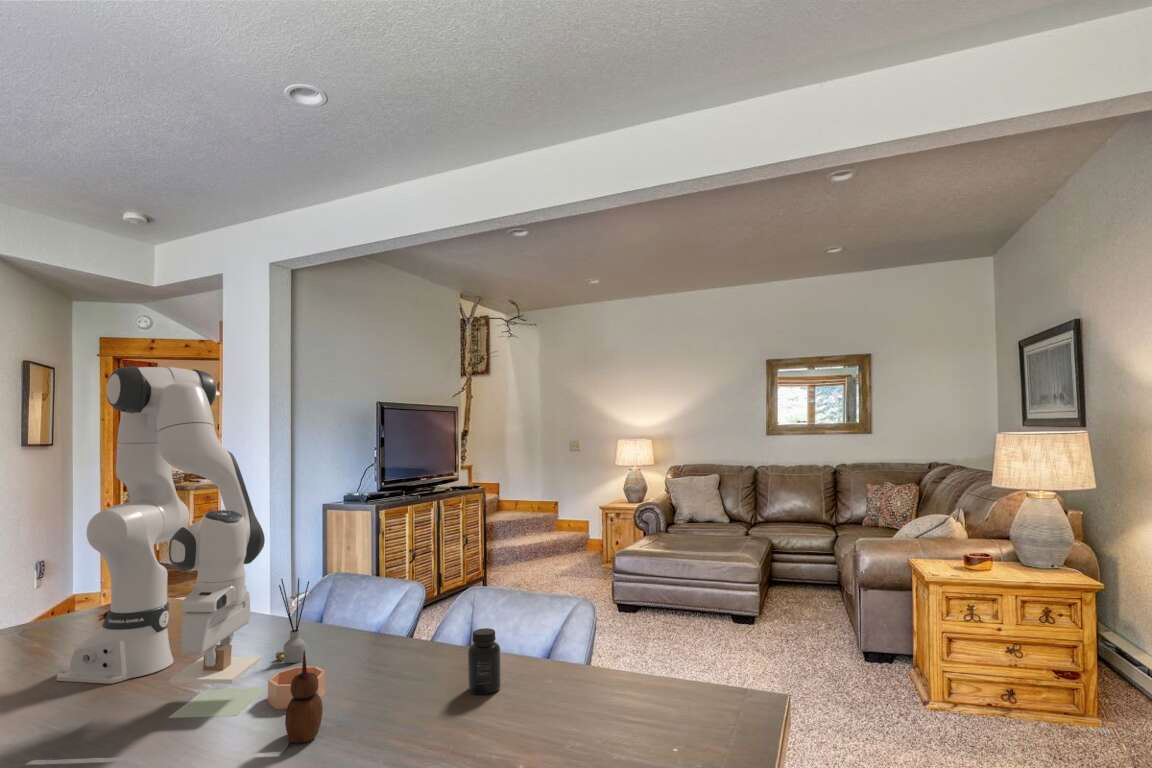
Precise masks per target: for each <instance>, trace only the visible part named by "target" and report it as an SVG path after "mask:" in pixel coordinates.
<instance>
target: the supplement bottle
mask: <svg viewBox="0 0 1152 768" xmlns="http://www.w3.org/2000/svg"><path fill="white" fill-rule="evenodd" d="M472 631H473V632H472V638H471V639H472V640H471V641H472V644H470V645H469V647H468V650H467V672H468V673H467V675H468V677H467V679H468V681H467V682H468V683H467V684H468V690H469V691H468V692H470V693H471V694H474V695H479V696H486V695H491V694H493V693H497V692H498V691H499V689H500V688H501V686H502V685H501V683H502V682H501V681H502V680H501V675H502V674H501V646H500V645H499V644H498V643H497V642H496V638H497V637H496V630H495V629H494V628H478V629H475V630H472Z"/></svg>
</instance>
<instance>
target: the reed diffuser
mask: <svg viewBox="0 0 1152 768" xmlns="http://www.w3.org/2000/svg"><path fill="white" fill-rule="evenodd" d="M280 581H281V584H279V585H278V587H279V590H280V593H281V596H282V600H283V604H284V608H285V609H286V613H287V617H288V621H289V623H290V626H291V630H290V631H289V632H290V634H289V638H288V640H287V641H285V643H284V644H283V649H282V650H278V651H277V652H276V653H275V658H276V660H278V659H280V660H279V661H280V662H282V661H281V660H283V662H284V663H286V664H296V663H300V662H303V653H304V650H305V651H306V643H305V640H303V639H301V637H300V631H299V627H300V621H301V618H302V613H303V609H304V605H305V601H306V598H307V597H306V596H307V592H308V589H309V583H310V581H307V584H306V588H305V593H304V596H303V601H302V605H301V610H300V614H299V598H300V596H299V595H300V578H297V594H296V595H297V596H296V597H297V598H296V618H295V619H296V621H295V629H294V625H293V620H292V615H291V612H290V611H291V610H290V608H289V603H288V598H287V594H286V590H285V585H284V581H283V578H280ZM281 585H282V587H281ZM282 589H283V591H282ZM283 592H284V593H283ZM298 616H299V617H298ZM298 618H299V619H298Z"/></svg>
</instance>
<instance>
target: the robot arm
mask: <svg viewBox="0 0 1152 768" xmlns="http://www.w3.org/2000/svg"><path fill="white" fill-rule="evenodd" d="M216 387H217V385H216V382H215V380H214V378H213V376H212V375H211V374H209V373H208V372H206V371H203V370H198V369H188V368H181V367H173V366H163V367H162V366H144V367H143V366H141V367H140V366H139V367H137V366H135V365H131V366H122V367H118V368H115V369H114V371H113V372H111V374H110V375H109V377H108V380H107V382H106V388H105V389H106V392H105V393H106V398H107V402H108V403H109V405H110V406H111V407H112V408H113V409H114V410H116V411H118V412H122V413H121V416H120V419H119V420H120V421H119V424H118V431H117V432H118V433H117V442H116V461H115V475H116V478H117V479H118V480H119V481H120V482H121V483H123V484H124V485H125V486H126V489H127V493H128V495H129V499H130V500H129V502H125V503H120V504H119V503H118V504H115V505H112V506H110V507H108V508H105V509H103V510H101V511H98V512H97V513H96V514H94V516H91V517H92V518H90V520H89V521H88V524H87V527H86V538H87V542H88V544H89V545H90V546H91V547H92V549H94V550H95V551H97V552H98V553H99V554H101V556H102V558H103V559H104V561H105V562H106V566H107V568H108V572H109V577H110V609H109V610H107V611H105V612H104V613H103V614H100V615H98V616H97V617H98V619H97V622H100V621H102V620H103V623H102V624H101V627H100V628H99V629H97V630H95V632H93V633H92V634H91V635H90V636H88V637H87V638H85V639H84V640H83V641H82V642H80V643H79V644H77V646H76V647H75V648H74V650H73V653H72V655H71V658H70V662H69V663H70V664H69V666H67V667H65V668H63V669H62V670H61V671H60V672H58V673H57V676H56V681H59V682H74V683H75V682H76V683H90V684H91V683H93V684H94V683H95V684H110V685H111V684H115V683H119V682H122V681H125V680H130V679H132V678H138V677H142V676H146V675H151V674H154V673H156V672H159V671H162V670H164V669H167V668H168V667H169V666H171V665H172V664H173V663H174V658H173V655H172V654H173V653H172V650H171V647H170V641H169V640H170V639H169V632H168V630H169V629H168V627H169V620H170V604H169V602H168V575H169V574H168V569H167V568H166V567H165V566H164V565H162V564H161V563H159V561H158V559H157V557H156V554H155V547H154V546H155V545H157V544H160V543H164V542H167V541H169V544H168V545H169V546H168V556H169V557H168V559H169V562H170V563H171V564H172V565H173V566H174V567H176V569H178V570H180V571H183V572H185V571H187V572H195V571H197V576H196V578H195V579H196V580H195V583H196V584H195V586H194V587H193V588H192V590H191V591H190V592H189V594H188V595H187V596H186V597H185V598H184V599H183V600H182V602H181V605H180V608H181V610H180V611H181V612H182V613H184V615H183V617H182V620H181V633H180V635H181V636H180V645H181V647H180V648H181V650H182V652H183V654H185V655H200V654H202V653H203V657H204V656H205V665H206V666H213V665H215V664H216V663H217V662H218V655H216V652H215V648H216V646H217V645H218V643H219V645H232V641H233V638H234V633H235V632H237V631H238V630H240V629H241V628H242V627H244V626H246V625H248V623H249V622H250V620H251V619H250V618H251V596H250V592H249V591H248V590H247V586H246V571H245V565H249V564H251V563H252V562H254V560H255V559H257V558H258V556H259V555H260V553H261V551H262V550H263V549H264V546H265V542H266V540H265V533H264V531H263V528H262V525H261V524H260V522H259V520H258V518H257V516H256V514H255V511H254V509H253V505H252V501H251V500H250V496H249V493H248V490H247V486H246V484H245V482H244V478H243V474H242V472H241V469H240V467H239V464H238V461H237V459H236V458H235V455H234V454H233V453H232V452H230V451H229V450H227V449H226V448H225V447H224V446H223V443H222V442H221V441H220V439H219V437H218V435H217V432H216V428H215V422H214V416H213V415H214V414H213V412H212V408H211V406H212V405H213V404H214V401H215V399H216V395H217V388H216ZM172 467H173V468H175V469H177V470H179V471H182V472H186V473H190V474H192V475H196V476H200V477H201V478H204V479H207V480H208V481H210V482H211V483H212V484H214V485H215V486H216V487H217V489H218V490H219V494H220V496H221V500H222V503H223V505H224V509H223V510H222V509H221V510H220V509H218V510H217V509H216V510H213V511H209V512H206V513H205V514H203V516H202V517H201V519H200V520H199V521H197V522H195V523H192V524H189V523H190V511H189V508H188V506H187V504H185V503H184V501H182V500H181V499H180V497H179V495H178V493H177V489H176V487H175V483H174V479H173V468H172Z"/></svg>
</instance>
